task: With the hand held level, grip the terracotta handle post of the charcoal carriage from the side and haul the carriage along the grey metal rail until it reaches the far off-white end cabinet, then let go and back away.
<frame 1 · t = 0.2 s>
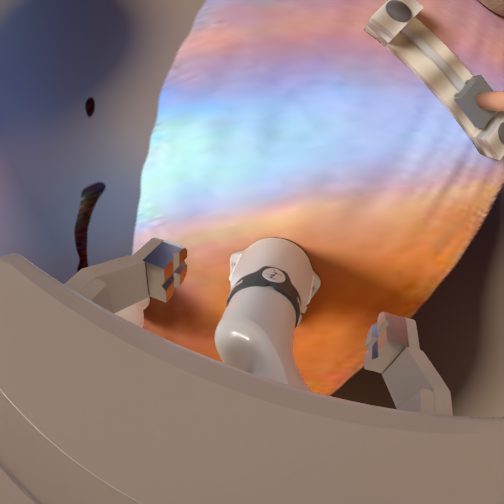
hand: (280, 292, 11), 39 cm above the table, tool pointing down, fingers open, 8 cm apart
carriage: (491, 101, 23), point 9 cm above the table, slide at 0.0 cm
rail track: (443, 75, 31), on the table
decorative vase: (130, 290, 69), on the table
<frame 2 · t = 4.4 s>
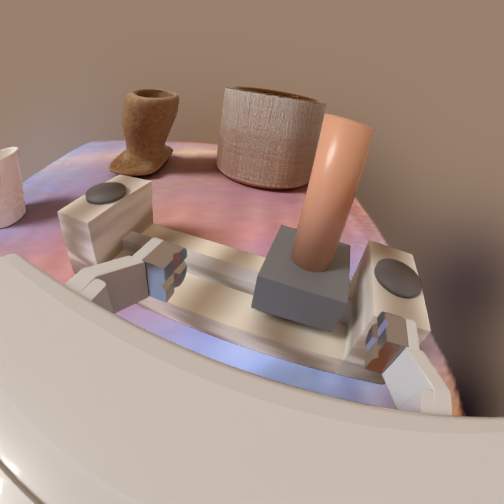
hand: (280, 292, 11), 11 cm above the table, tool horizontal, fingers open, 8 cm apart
white cup: (9, 218, 29), on the table
carriage: (321, 224, 18), point 9 cm above the table, slide at 0.0 cm
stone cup: (147, 167, 48), on the table
rail track: (225, 296, 25), on the table
planter: (262, 174, 51), on the table
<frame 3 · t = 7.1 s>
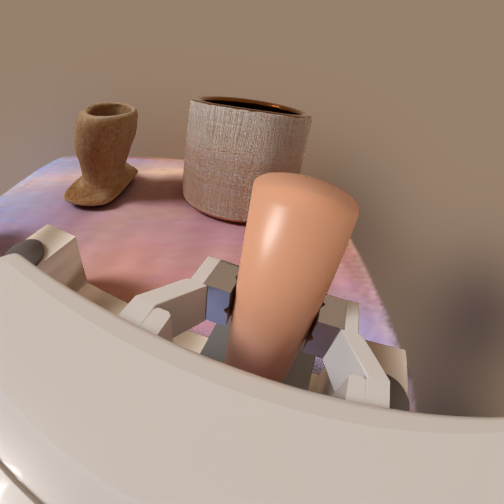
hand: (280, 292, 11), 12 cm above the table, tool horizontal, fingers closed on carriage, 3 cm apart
carriage: (262, 347, 11), point 9 cm above the table, slide at 0.0 cm, touching gripper
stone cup: (107, 192, 41), on the table
rail track: (161, 386, 18), on the table
planter: (237, 200, 45), on the table
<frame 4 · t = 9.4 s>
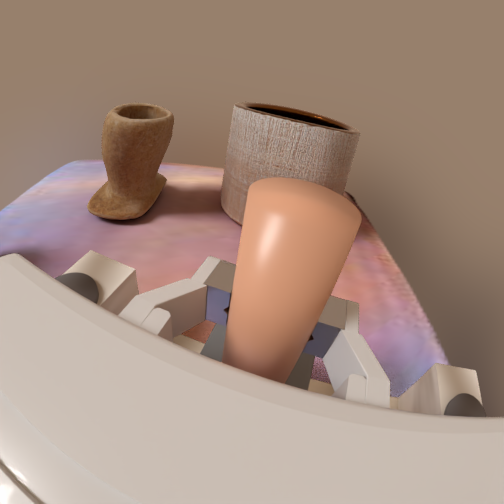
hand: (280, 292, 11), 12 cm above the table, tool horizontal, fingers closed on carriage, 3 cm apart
carriage: (258, 357, 11), point 9 cm above the table, slide at 7.1 cm, touching gripper
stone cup: (135, 202, 39), on the table
rail track: (249, 429, 16), on the table
planter: (276, 213, 43), on the table
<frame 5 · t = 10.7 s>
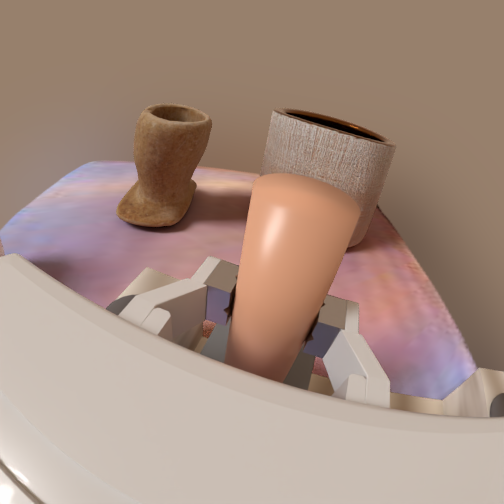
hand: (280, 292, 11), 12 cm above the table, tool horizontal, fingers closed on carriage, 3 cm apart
carriage: (261, 348, 11), point 9 cm above the table, slide at 12.0 cm, touching gripper
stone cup: (165, 207, 39), on the table
rail track: (316, 440, 16), on the table
planter: (309, 221, 43), on the table
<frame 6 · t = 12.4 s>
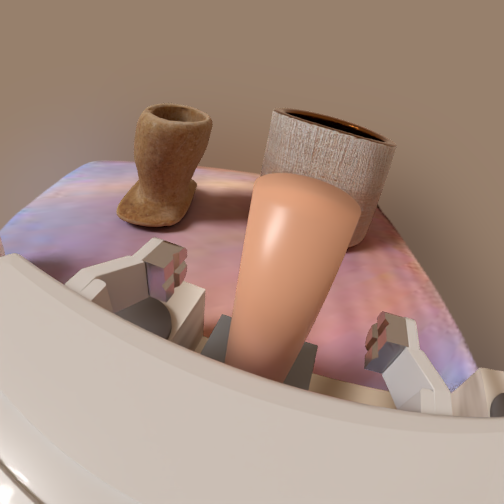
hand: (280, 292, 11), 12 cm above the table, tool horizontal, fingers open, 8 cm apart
carriage: (262, 348, 11), point 9 cm above the table, slide at 12.0 cm
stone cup: (165, 207, 39), on the table
rail track: (317, 440, 16), on the table
planter: (309, 221, 43), on the table
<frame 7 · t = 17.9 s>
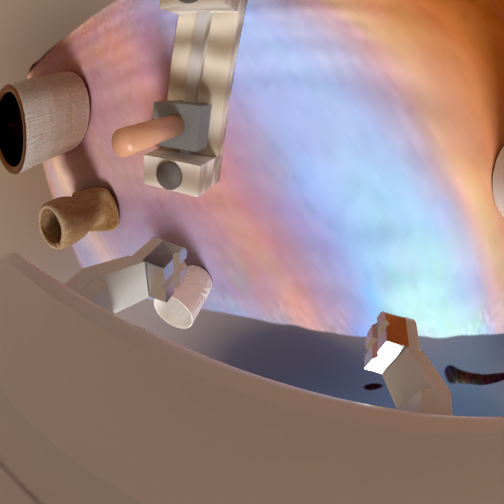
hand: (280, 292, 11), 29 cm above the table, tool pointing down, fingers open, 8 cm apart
white cup: (198, 278, 54), on the table
carriage: (161, 129, 29), point 9 cm above the table, slide at 12.0 cm
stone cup: (97, 202, 52), on the table
rail track: (203, 81, 33), on the table
planter: (68, 110, 42), on the table
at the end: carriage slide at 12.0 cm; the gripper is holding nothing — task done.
